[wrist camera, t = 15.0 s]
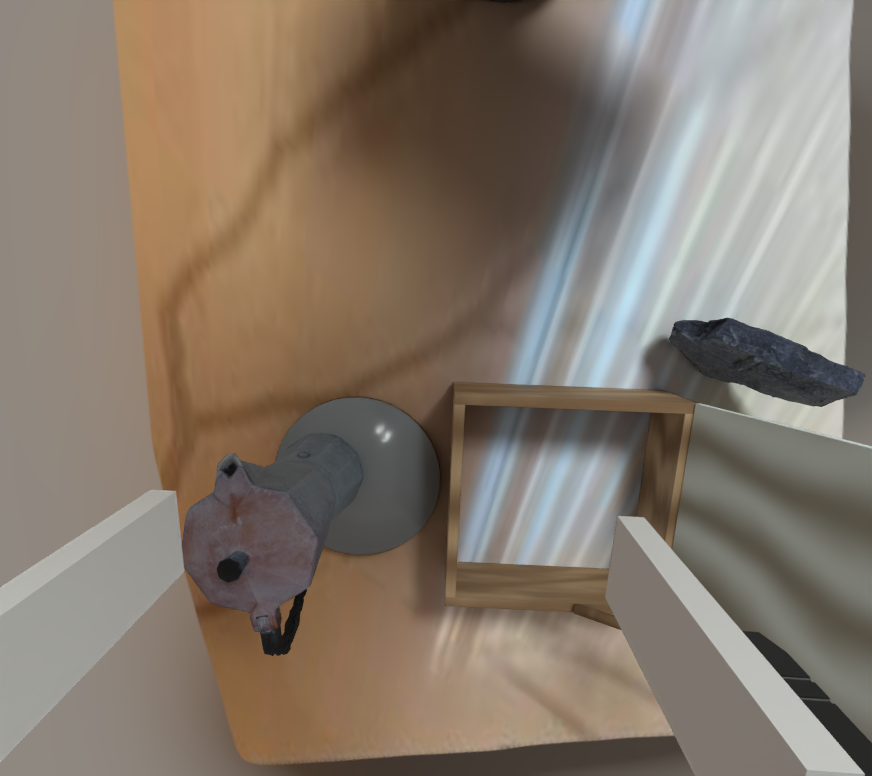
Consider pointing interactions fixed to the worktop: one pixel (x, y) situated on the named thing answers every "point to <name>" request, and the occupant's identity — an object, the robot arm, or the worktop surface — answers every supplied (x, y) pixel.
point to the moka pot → (269, 530)
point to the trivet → (377, 472)
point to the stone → (764, 362)
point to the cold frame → (717, 529)
